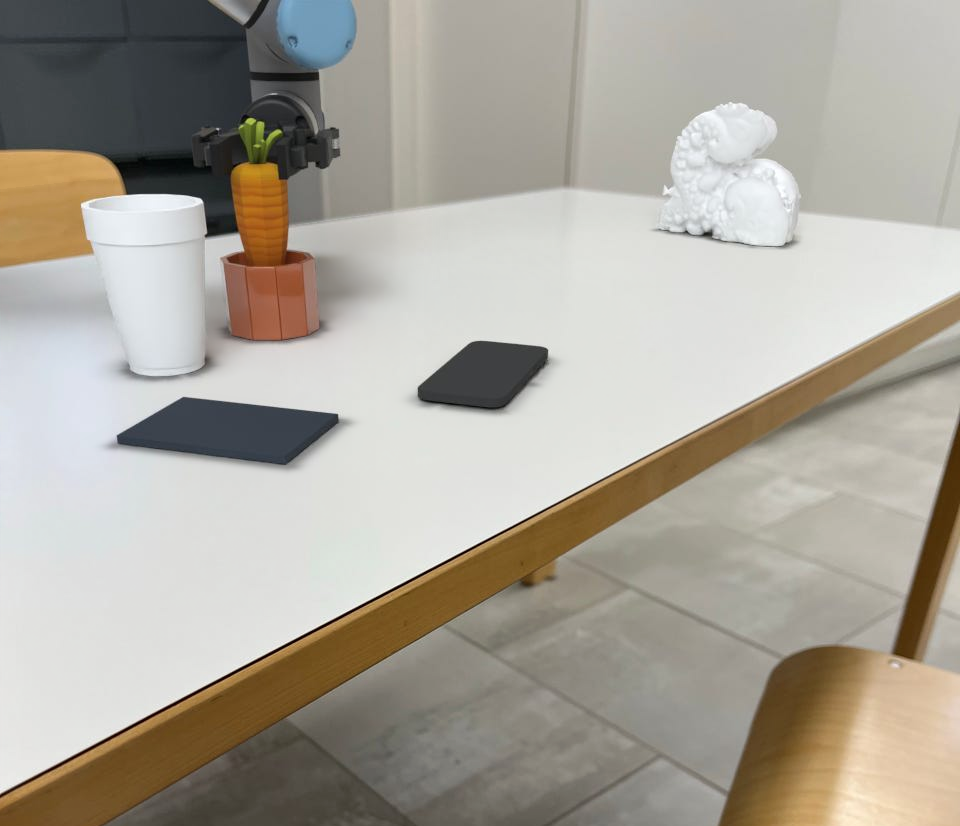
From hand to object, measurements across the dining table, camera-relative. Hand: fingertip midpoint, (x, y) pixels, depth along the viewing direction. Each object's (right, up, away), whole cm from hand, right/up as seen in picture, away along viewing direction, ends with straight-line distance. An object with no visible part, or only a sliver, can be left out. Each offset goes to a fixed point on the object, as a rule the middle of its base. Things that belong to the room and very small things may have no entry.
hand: (248, 162), depth 86 cm
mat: (+1, -25, -12) cm, 28 cm away
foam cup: (-7, -17, +2) cm, 18 cm away
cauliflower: (+54, +16, +57) cm, 80 cm away
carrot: (0, -8, +11) cm, 13 cm away
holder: (0, -10, +12) cm, 16 cm away
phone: (+20, -18, -1) cm, 27 cm away
